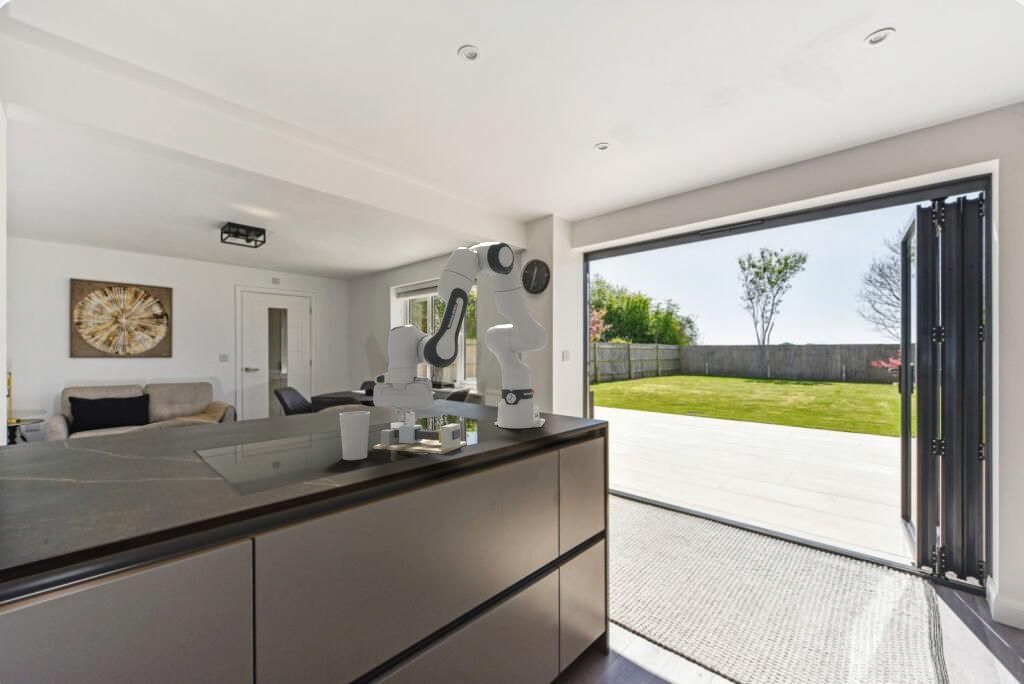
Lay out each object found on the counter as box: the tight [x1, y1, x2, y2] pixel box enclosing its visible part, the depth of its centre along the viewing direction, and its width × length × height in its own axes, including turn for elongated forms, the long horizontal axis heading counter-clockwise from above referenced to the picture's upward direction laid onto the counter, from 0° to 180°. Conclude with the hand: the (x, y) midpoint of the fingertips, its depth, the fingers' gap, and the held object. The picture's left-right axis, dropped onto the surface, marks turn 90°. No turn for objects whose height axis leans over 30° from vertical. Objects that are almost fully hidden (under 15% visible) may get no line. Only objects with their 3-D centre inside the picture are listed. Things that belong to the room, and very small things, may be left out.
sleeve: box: [398, 411, 423, 444], centre depth 136 cm, size 5×5×9 cm
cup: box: [339, 410, 371, 461], centre depth 121 cm, size 8×8×12 cm
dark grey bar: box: [389, 427, 441, 443], centre depth 135 cm, size 20×4×4 cm, turn 68°
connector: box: [440, 423, 462, 448], centre depth 130 cm, size 4×6×6 cm, turn 158°
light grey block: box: [380, 426, 400, 445], centre depth 138 cm, size 3×8×4 cm, turn 158°
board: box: [372, 439, 468, 455], centre depth 134 cm, size 24×14×1 cm, turn 68°
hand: (403, 422), depth 137 cm, fingers closed
